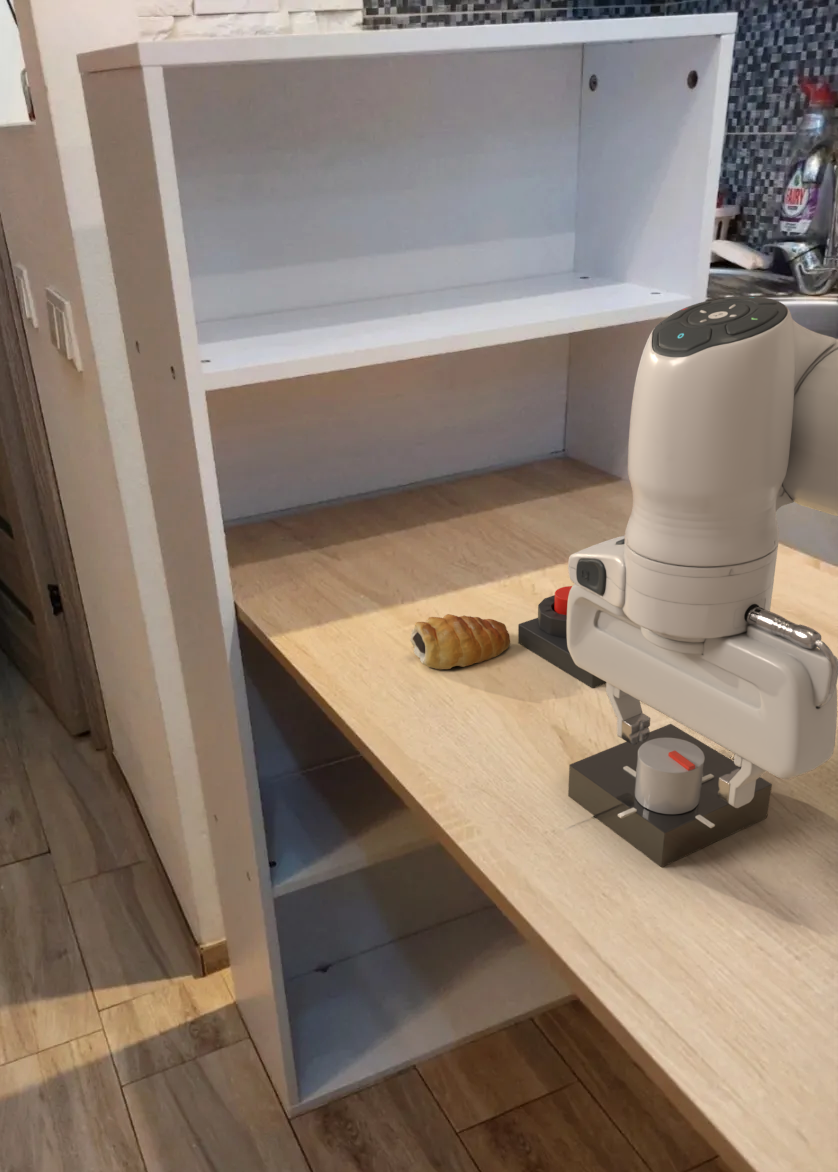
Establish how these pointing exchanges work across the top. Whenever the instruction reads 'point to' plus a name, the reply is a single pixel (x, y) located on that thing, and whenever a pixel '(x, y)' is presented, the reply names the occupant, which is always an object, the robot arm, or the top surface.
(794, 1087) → the top surface
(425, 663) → the pastry
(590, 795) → the hob console
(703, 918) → the top surface
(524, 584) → the top surface
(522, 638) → the box
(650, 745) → the hob knob
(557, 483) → the top surface
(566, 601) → the button
